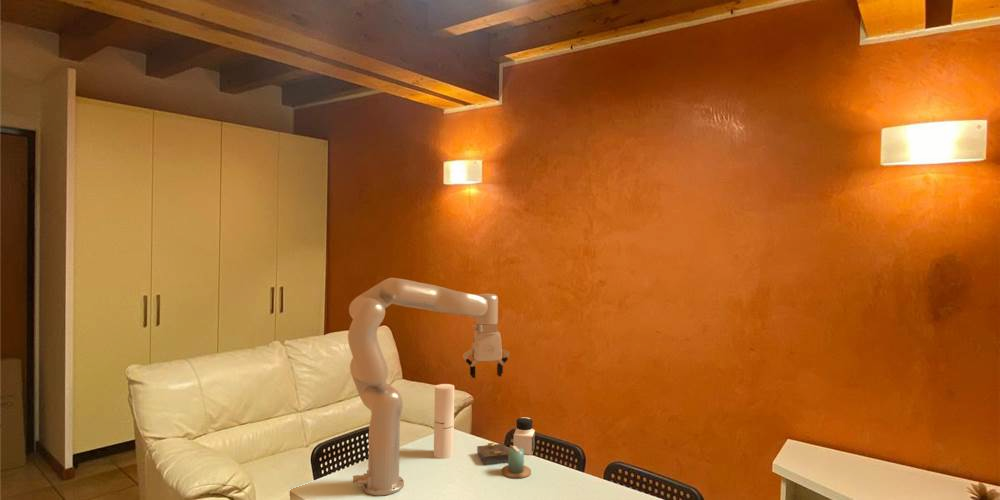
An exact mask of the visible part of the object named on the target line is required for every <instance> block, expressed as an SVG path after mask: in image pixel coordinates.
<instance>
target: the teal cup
mask: <svg viewBox="0 0 1000 500" xmlns="http://www.w3.org/2000/svg"><path fill="white" fill-rule="evenodd" d="M508 450H509V453H508V463H507V465H508V471H509V472H510V473H513V474H519V473H522V472H523V471H524V466H525V463H524V461H525V458H524V457H525V454H524V449H523V448H521V447H516V446H513V445H512V446H511V447H509V448H508Z"/></svg>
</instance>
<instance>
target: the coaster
mask: <svg viewBox="0 0 1000 500" xmlns="http://www.w3.org/2000/svg"><path fill="white" fill-rule="evenodd" d="M531 473H532V469H531V468H530V467H528V466H527V465H524V471H523V472H522V473H519V474H513V473H510V472H509V471H508V464H507V465H504V466H503V467H502V468H501V474H502V476H504V477H506V478H508V479H512V480H513V479H514V480H515V479H516V480H518V479H519V480H521V479H525V478H528V477H530V476H531Z"/></svg>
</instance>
